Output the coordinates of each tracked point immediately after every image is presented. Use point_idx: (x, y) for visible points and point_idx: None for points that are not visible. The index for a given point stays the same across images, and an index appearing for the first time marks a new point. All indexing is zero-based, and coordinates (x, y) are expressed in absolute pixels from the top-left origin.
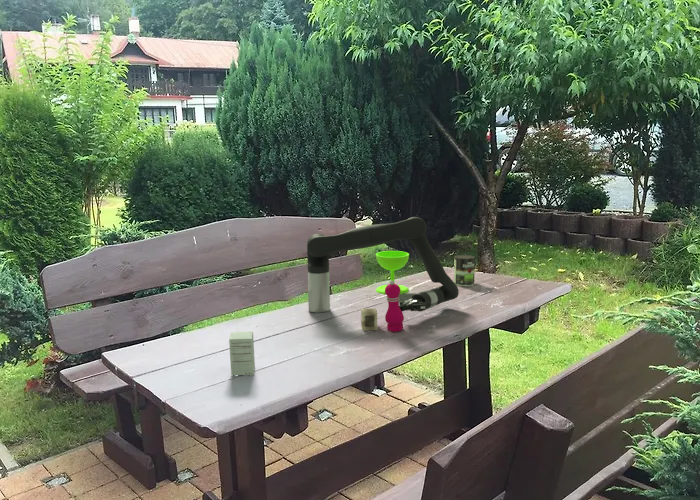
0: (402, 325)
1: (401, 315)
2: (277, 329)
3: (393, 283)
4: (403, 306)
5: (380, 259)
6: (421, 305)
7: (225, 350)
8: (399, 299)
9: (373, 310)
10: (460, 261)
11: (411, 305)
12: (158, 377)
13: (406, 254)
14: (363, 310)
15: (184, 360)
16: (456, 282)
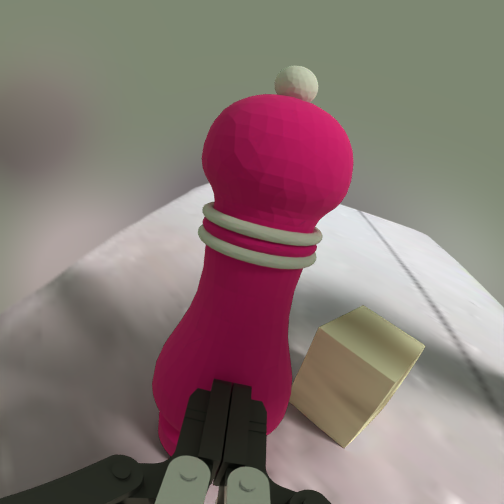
0: (159, 417)
1: (162, 349)
2: (446, 302)
3: (275, 85)
4: (205, 418)
5: None
6: (8, 500)
7: (383, 242)
8: (199, 236)
9: (369, 349)
10: None
11: (122, 457)
12: (344, 208)
13: None
14: (396, 332)
15: (374, 226)
16: None
